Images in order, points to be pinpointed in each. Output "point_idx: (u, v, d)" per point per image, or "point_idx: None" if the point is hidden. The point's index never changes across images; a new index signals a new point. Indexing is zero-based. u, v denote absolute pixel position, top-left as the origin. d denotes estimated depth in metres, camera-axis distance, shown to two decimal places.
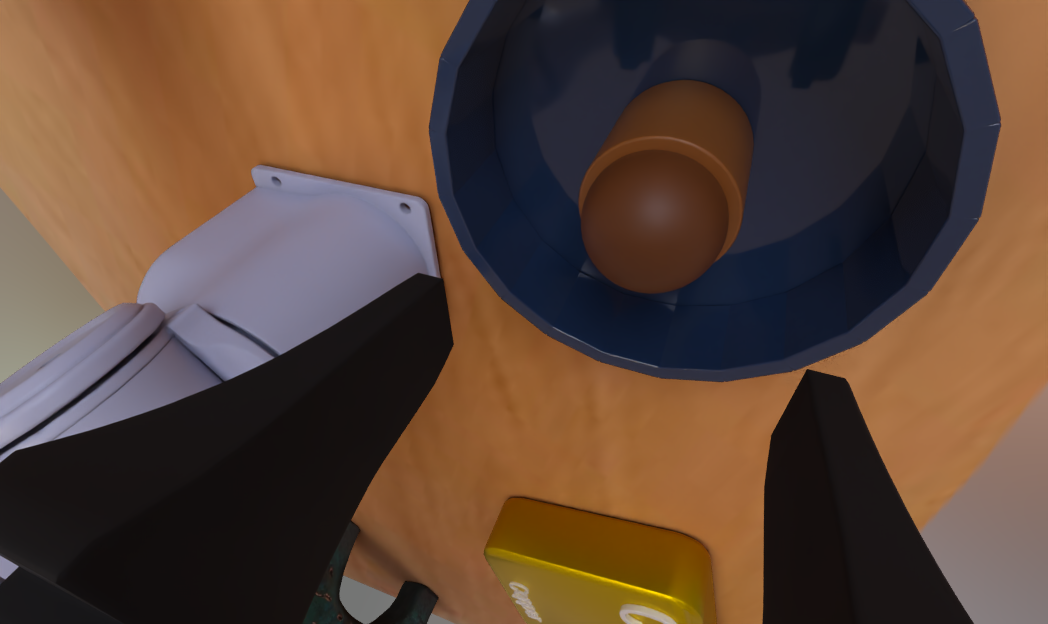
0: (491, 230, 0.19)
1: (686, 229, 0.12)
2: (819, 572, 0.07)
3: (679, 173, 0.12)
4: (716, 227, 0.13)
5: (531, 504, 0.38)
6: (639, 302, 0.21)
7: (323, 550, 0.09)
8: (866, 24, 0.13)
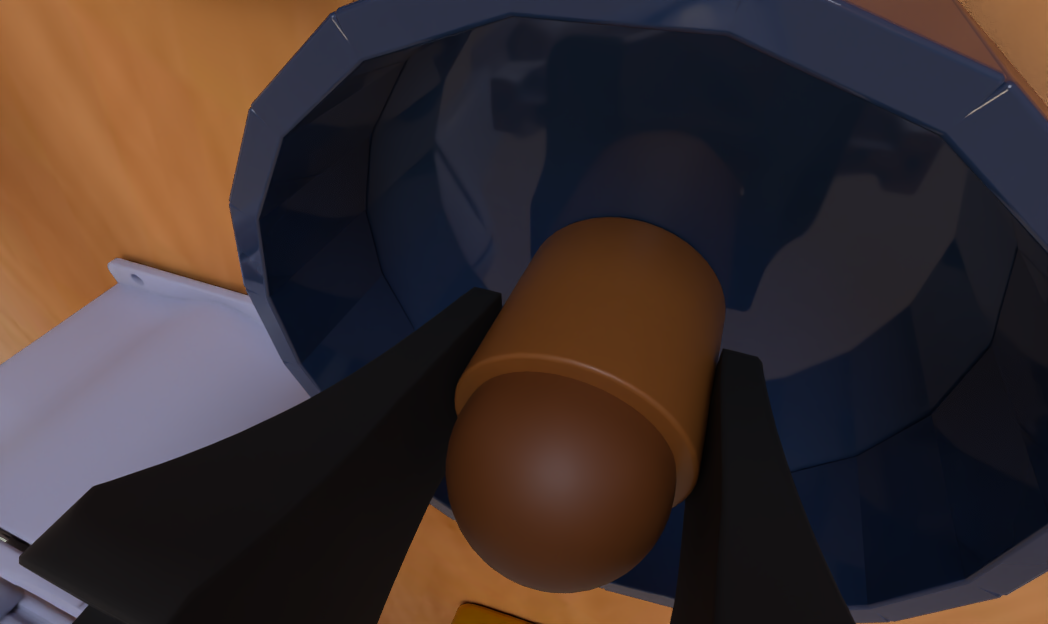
0: None
1: (594, 538, 0.07)
2: (707, 533, 0.07)
3: (584, 437, 0.07)
4: (649, 519, 0.08)
5: (487, 615, 0.33)
6: None
7: (386, 578, 0.09)
8: (903, 166, 0.08)
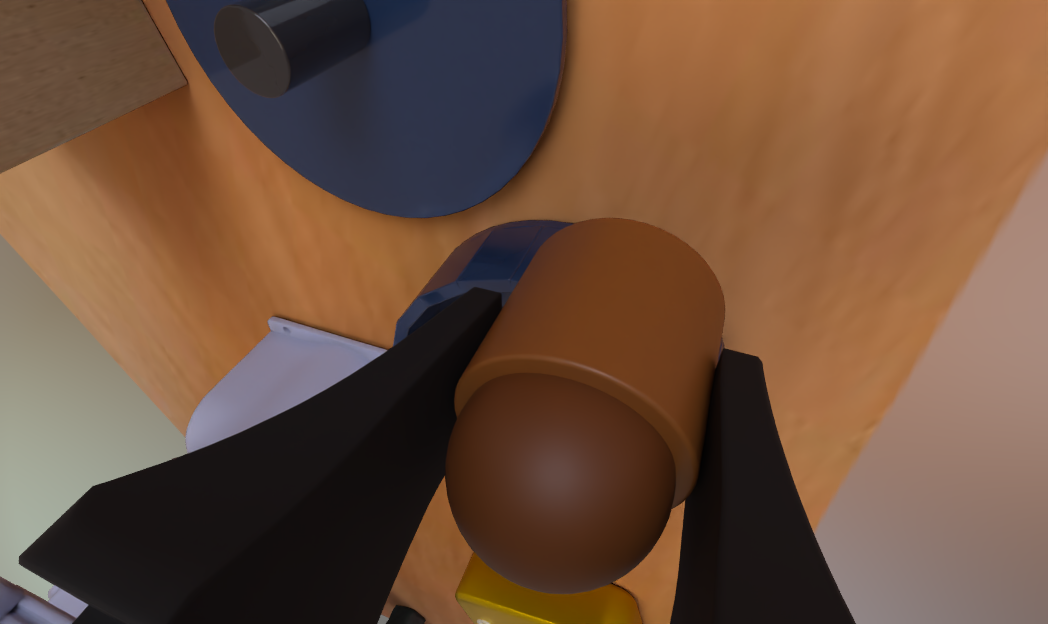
0: None
1: (594, 539, 0.07)
2: (707, 533, 0.07)
3: (583, 438, 0.07)
4: (649, 520, 0.08)
5: None
6: None
7: (386, 578, 0.09)
8: None
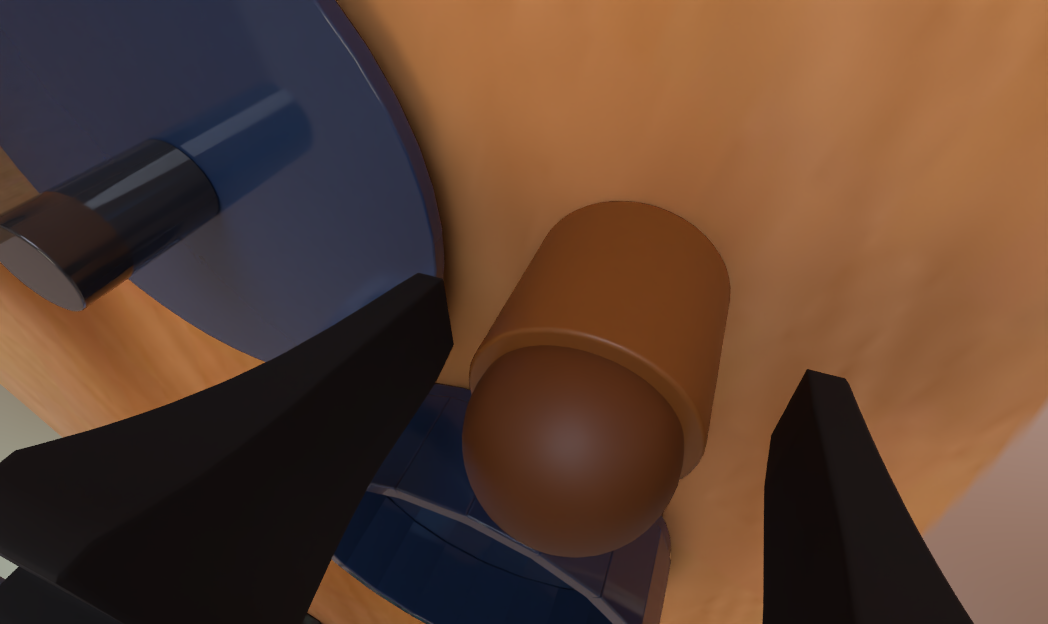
0: (361, 539, 0.24)
1: (607, 500, 0.07)
2: (819, 571, 0.07)
3: (597, 405, 0.08)
4: (659, 484, 0.08)
5: None
6: (492, 573, 0.26)
7: (323, 550, 0.09)
8: None
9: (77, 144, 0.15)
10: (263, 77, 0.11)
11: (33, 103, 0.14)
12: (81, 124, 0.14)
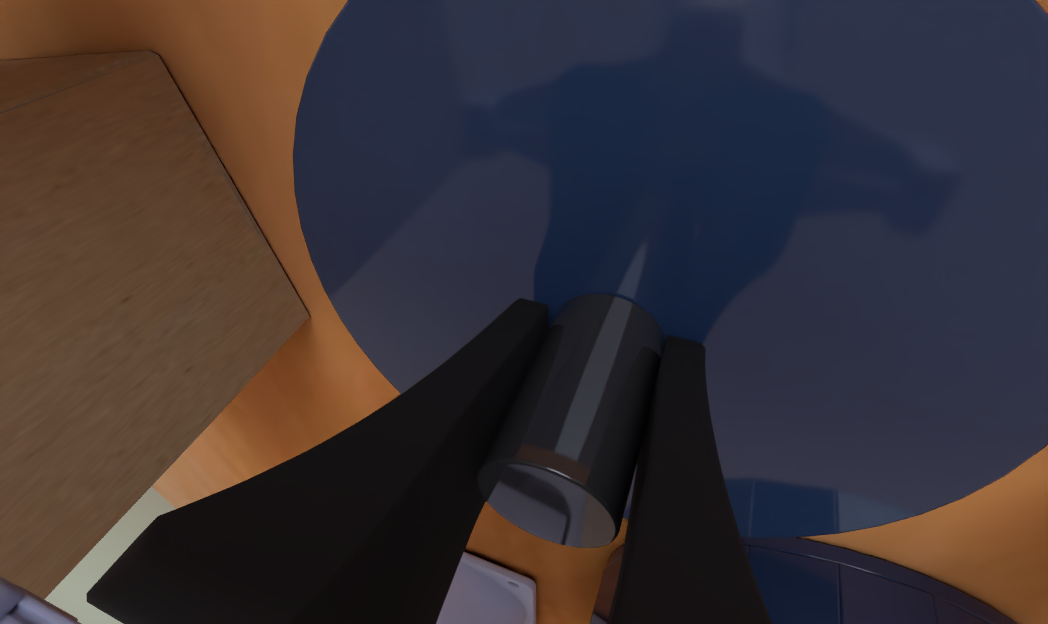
0: None
1: None
2: (637, 509, 0.07)
3: None
4: None
5: None
6: None
7: (437, 600, 0.09)
8: None
9: (455, 282, 0.12)
10: (908, 259, 0.08)
11: (415, 236, 0.11)
12: (483, 265, 0.11)
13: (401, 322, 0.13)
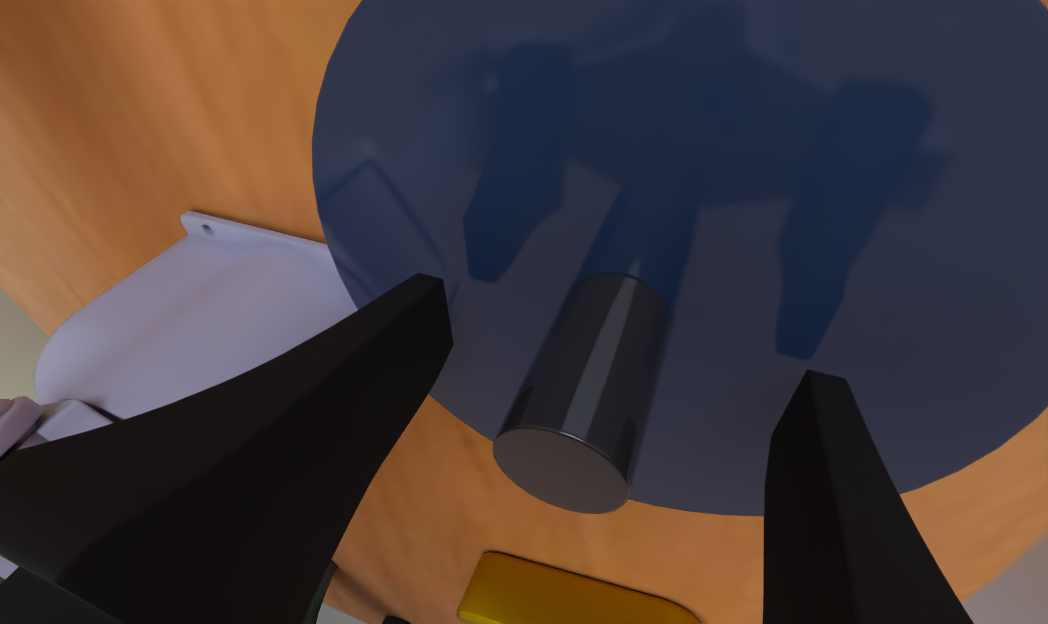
0: None
1: None
2: (819, 571, 0.07)
3: None
4: None
5: (508, 561, 0.35)
6: None
7: (323, 550, 0.09)
8: None
9: (468, 264, 0.12)
10: (905, 234, 0.08)
11: (430, 219, 0.12)
12: (495, 247, 0.11)
13: None
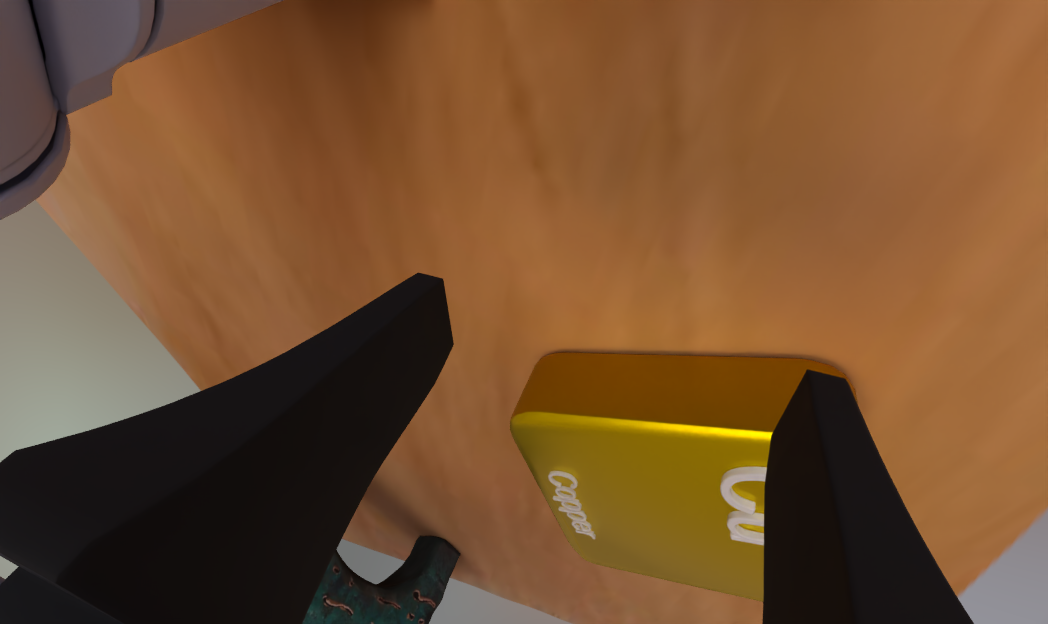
0: None
1: None
2: (819, 571, 0.07)
3: None
4: None
5: (574, 356, 0.26)
6: None
7: (323, 550, 0.09)
8: None
9: None
10: None
11: None
12: None
13: None
